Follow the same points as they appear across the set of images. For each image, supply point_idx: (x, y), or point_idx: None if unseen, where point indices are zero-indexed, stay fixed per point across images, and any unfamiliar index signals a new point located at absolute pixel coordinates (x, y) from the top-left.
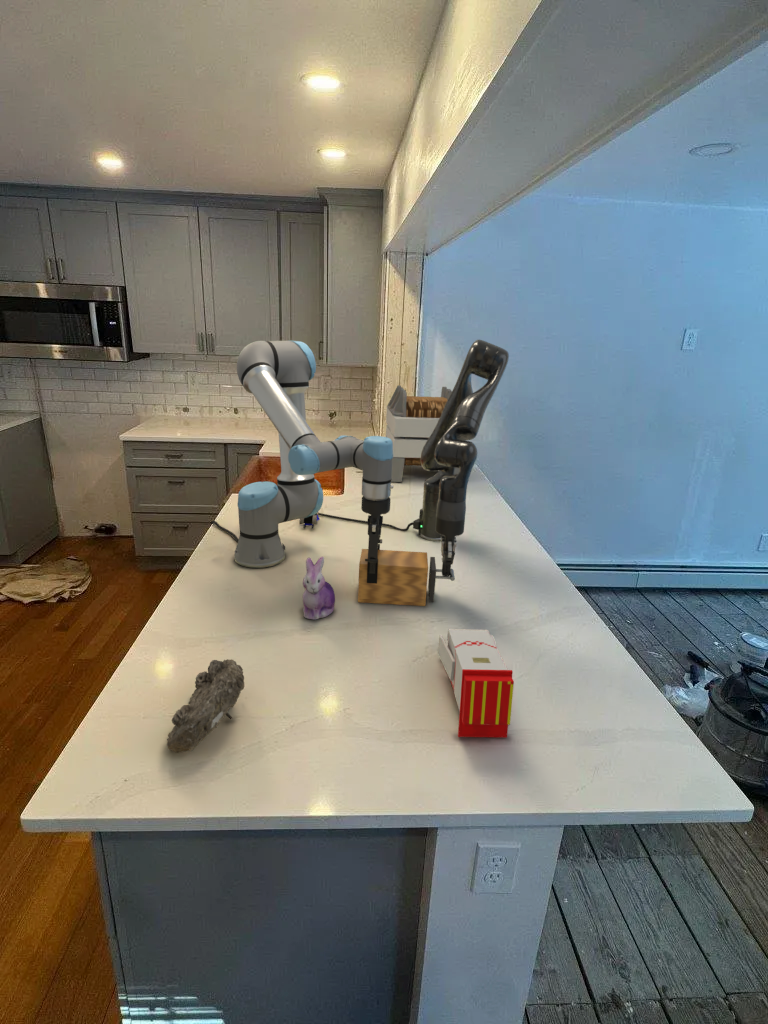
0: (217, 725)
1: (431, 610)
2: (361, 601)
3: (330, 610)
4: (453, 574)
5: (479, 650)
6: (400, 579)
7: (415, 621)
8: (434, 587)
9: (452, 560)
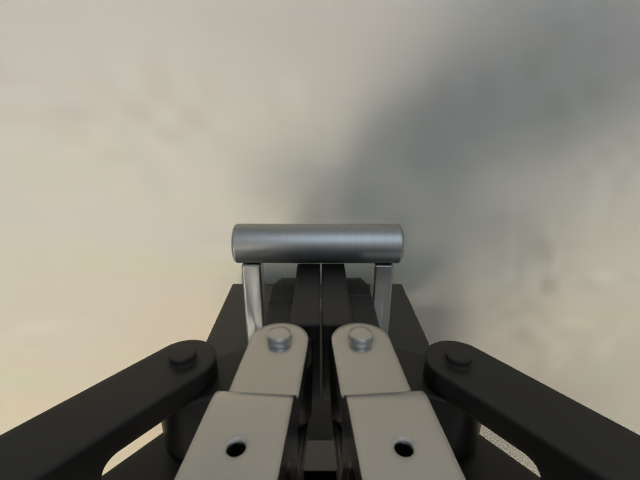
0: None
1: (444, 285)
2: None
3: None
4: (347, 239)
5: None
6: None
7: (538, 350)
8: (424, 336)
9: (598, 426)
